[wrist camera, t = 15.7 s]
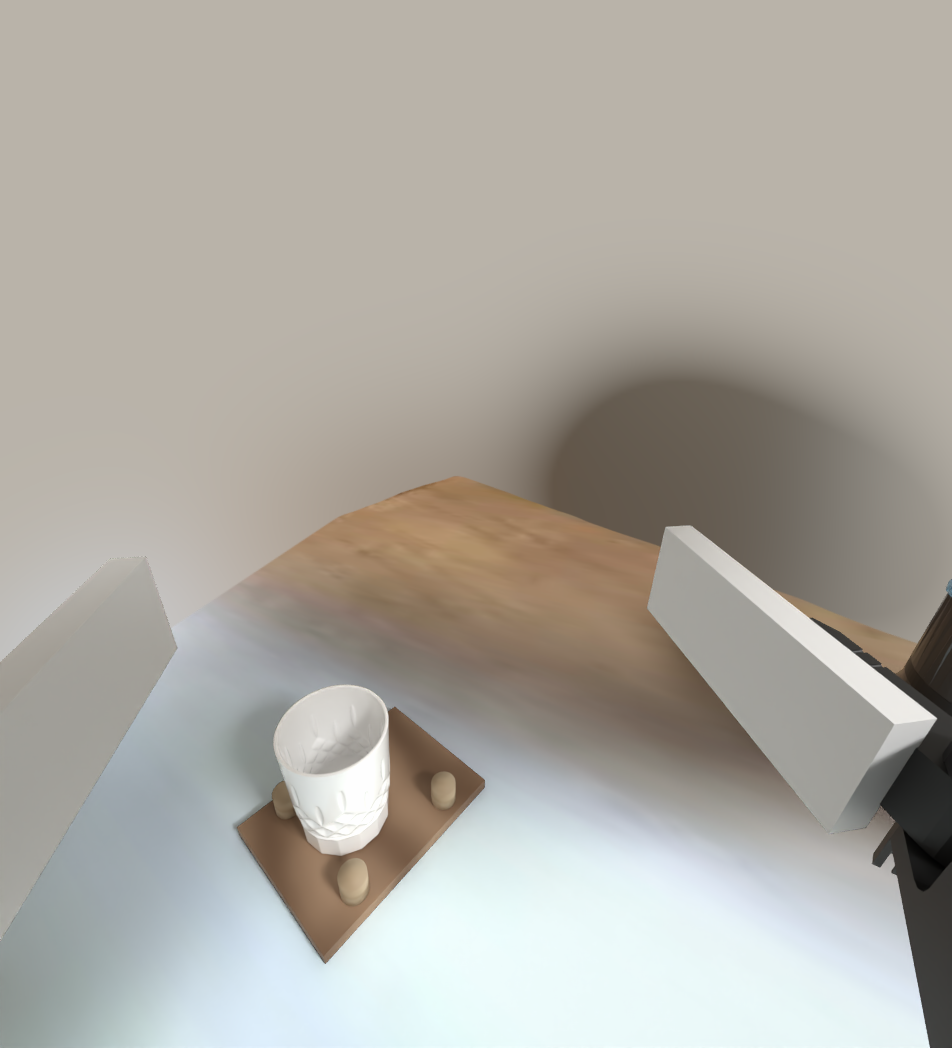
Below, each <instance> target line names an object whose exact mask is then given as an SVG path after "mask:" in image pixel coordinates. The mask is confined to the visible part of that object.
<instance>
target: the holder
mask: <svg viewBox="0 0 952 1048" xmlns="http://www.w3.org/2000/svg"><path fill="white" fill-rule="evenodd" d="M388 718H389V754H390V786H389V804H388V816H387V818H386V820H385V822H384V824H383V826H382V828H381V830H380V832H379V834H378V835H377V836H376V837H375V838H374V839H372V840H371V841H370V842H369V843H368V844H367V845H366V846H365V847H363V848H362V849H360V850H357V851H354V852H351V853H349V854H346V855H343V856H337V855H329V854H322V853H321V852H319V851H318V850H317V849H316V848H315V847H313V846H312V845H311V844H310V843H308V841H307V838H306V835H305V832H304V829H303V826H302V824H301V821H300V820H299V818H298V817H297V815H296V812H295V809H294V807H293V804H292V802H291V799H290V796H289V793H288V790H287V787H286V784H285V781H282V782H280V783H279V784H278V785H277V786H276V787H275V788H274V790H273V792H272V799H273V800H272V801H271V802H269V803H268V804H267V805H265V806H264V807H263V808H262V809H260V810H259V811H258V812H256V813H255V814H254V815H252V816H251V817H250V818H248V819H247V820H246V821H245V822H243V823H242V824H241V825H239V826H238V827H237V829H238V832H239V835H240V837H241V838H242V840H243V841H244V843H245V844H246V846H247V847H248V849H249V850H250V852H251V853H252V855H253V856H254V858H255V859H256V861H257V862H258V864H259V865H260V867H261V868H262V870H263V871H264V873H265V874H266V876H267V877H268V879H269V880H270V882H271V883H272V885H273V886H274V888H275V889H276V891H277V892H278V894H279V895H280V897H281V898H282V900H283V901H284V903H285V904H286V906H287V907H288V909H289V910H290V912H291V913H292V915H293V916H294V918H295V919H296V921H297V922H298V924H299V925H300V927H301V928H302V930H303V931H304V933H305V934H306V936H307V937H308V939H309V940H310V942H311V943H312V945H313V946H314V948H315V949H316V951H317V952H318V954H319V955H320V957H321V958H322V960H323V961H324V963H325V964H326V963H327V962H328V960H329V959H330V958H331V957H332V956H333V955H334V954H335V953H336V952H337V951H338V949H339V948H340V947H341V946H342V945H343V944H344V943H345V942H346V941H347V939H348V938H349V937H350V936H351V935H352V934H353V933H354V932H355V931H356V929H357V928H358V927H359V926H360V925H361V924H362V923H363V922H364V921H365V919H366V918H367V917H368V916H369V915H370V914H371V913H372V912H373V911H374V909H375V908H376V907H377V906H378V905H379V904H380V903H381V902H382V901H383V900H384V898H385V897H386V896H387V895H388V894H389V893H390V892H391V891H392V890H393V888H394V887H395V886H396V885H397V884H398V883H399V882H400V881H401V880H402V878H403V877H404V876H405V875H406V874H407V873H408V872H409V871H410V870H411V868H412V867H413V866H414V865H415V864H416V863H417V862H418V861H419V860H420V858H421V857H422V856H423V855H424V854H425V853H426V852H427V851H428V850H429V849H430V847H431V846H432V845H433V844H434V843H435V842H436V841H437V840H438V839H439V837H440V836H441V835H442V834H443V833H444V832H445V831H446V830H447V829H448V827H449V826H450V825H451V824H452V823H453V822H454V821H455V820H456V819H457V817H458V816H459V815H460V814H461V813H462V812H463V811H464V810H465V809H466V807H467V806H468V805H469V804H470V803H471V802H472V801H473V800H474V799H475V798H476V796H477V795H478V794H479V793H480V792H481V791H482V790H483V789H484V788H485V780H484V779H483V778H482V777H481V776H479V775H478V774H477V773H476V772H474V771H473V770H472V769H471V768H469V767H468V766H467V765H466V764H465V763H463V762H462V761H461V760H460V759H458V758H457V757H456V756H455V755H454V754H452V753H451V752H450V751H449V750H447V749H446V748H445V747H444V746H442V745H441V744H440V743H439V742H438V741H436V740H435V739H434V738H433V737H431V736H430V735H429V734H428V733H427V732H425V731H424V730H423V729H422V728H420V727H419V726H418V725H417V724H415V723H414V722H413V721H412V720H411V719H409V718H408V717H407V716H406V715H404V714H403V713H402V712H401V711H399V710H398V709H397V708H396V707H394V708H392V709H391V710H390V711H388Z"/></svg>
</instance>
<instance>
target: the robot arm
mask: <svg viewBox="0 0 952 1048" xmlns="http://www.w3.org/2000/svg"><path fill="white" fill-rule="evenodd" d="M946 591H947V592H948V594H947V595H946V596H945V598H944V600H943V602H942V603H941V605H940V607H939V608H938V610H937V612H936V613H935V615H934V617H933V618H932V620H931V622H930V624H929V625H928V627H927V629H926V630H925V632H924V634H923V635H922V637H921V639H920V640H919V642H918V644H917V645H916V647H915V649H914V651H913V652H912V655H911V656H910V658H909V660H908V661H907V663H906V665H905V666H904V668H903V669H902V670H901V671H899V672H898V673H896V674H895V673H893V672H892V671H891V670H889V669H888V668H887V667H884V668H883V667H882V666H881V663H880V662H879V661H877V660H876V659H875V658H873V657H872V656H871V655H870V654H868V653H863V651H862V648H860V647H859V646H858V645H856V644H855V643H854V642H852V641H851V640H850V639H848V638H847V637H846V636H845V635H843V634H842V633H841V632H839V631H837V630H835V629H833V628H831V627H829V626H827V625H825V624H823V623H821V622H820V621H818V620H816V619H814V618H808V617H807V616H806V615H804V614H803V613H802V612H801V611H799V610H798V609H797V608H795V607H794V606H793V605H792V604H790V603H789V602H788V601H787V600H785V599H784V598H783V597H781V596H780V595H779V594H778V593H776V592H775V591H774V590H773V589H771V588H770V587H769V586H767V585H766V584H765V583H764V582H762V581H761V580H760V579H758V578H757V577H756V576H755V575H753V574H752V573H751V572H749V571H748V570H747V569H746V568H744V567H743V566H742V565H741V564H739V563H738V562H737V561H735V560H734V559H733V558H732V557H730V556H729V555H728V554H727V553H725V552H724V551H723V550H721V549H720V548H719V547H717V546H716V545H715V544H714V543H713V542H711V541H710V540H709V539H707V538H706V537H705V536H704V535H702V534H701V533H699V532H698V531H697V530H696V529H695V528H693V527H692V526H675V527H665V532H664V536H663V541H662V545H661V549H660V554H659V558H658V562H657V567H656V571H655V576H654V580H653V584H652V589H651V593H650V598H649V602H648V606H647V609H648V610H649V611H650V612H651V614H652V615H653V616H654V617H655V619H656V620H657V621H658V622H659V624H660V625H661V626H662V627H663V629H664V630H665V631H666V632H667V634H668V635H669V636H670V637H671V639H672V640H673V641H674V642H675V644H676V645H677V646H678V647H679V649H680V650H681V651H682V652H683V654H684V655H685V656H686V657H687V658H688V660H689V661H690V662H691V663H692V665H693V666H694V667H695V668H696V670H697V671H698V672H699V673H700V675H701V676H702V677H703V678H704V680H705V681H706V682H707V683H708V685H709V686H710V687H711V688H712V690H713V691H714V692H715V693H716V695H717V696H718V697H719V698H720V700H721V701H722V702H723V703H724V704H725V706H726V707H727V708H728V709H729V711H730V712H731V713H732V714H733V716H734V717H735V718H736V719H737V721H738V722H739V723H740V724H741V726H742V727H743V728H744V729H745V731H746V732H747V733H748V734H749V736H750V737H751V738H752V739H753V741H754V742H755V743H756V744H757V746H758V747H759V748H760V749H761V751H762V752H763V753H764V754H765V755H766V757H767V758H768V759H769V760H770V762H771V763H772V764H773V765H774V767H775V768H776V769H777V770H778V772H779V773H780V774H781V775H782V777H783V778H784V779H785V780H786V782H787V783H788V784H789V785H790V787H791V788H792V789H793V790H794V792H795V793H796V794H797V795H798V797H799V798H800V799H801V800H802V801H803V803H804V804H805V805H806V806H807V808H808V809H809V810H810V811H811V813H812V814H813V815H814V816H815V818H816V819H817V820H818V821H819V823H820V824H821V825H822V826H823V828H824V829H825V830H826V831H827V833H828V834H833V833H839V832H845V831H850V830H856V829H862V828H866V827H867V826H868V824H869V823H870V821H871V819H872V818H873V816H874V815H875V813H876V812H877V810H878V809H879V807H880V806H882V807H883V808H884V809H885V810H886V811H887V812H888V814H889V815H890V816H891V817H892V818H893V819H894V820H895V821H896V822H895V823H894V825H893V826H892V828H891V829H890V830H889V832H888V833H887V835H886V836H885V838H884V839H883V841H882V842H881V843H880V845H879V846H878V848H877V849H876V851H875V852H874V854H873V862H872V864H874V865H876V866H878V867H881V866H882V864H883V863H884V861H885V860H886V859H887V857H888V856H889V854H890V853H892V854H893V857H894V862H895V867H894V868H893V869H892V872H891V873H893V874H895V875H897V878H898V883H899V888H900V893H901V898H902V904H903V909H904V914H905V919H906V925H907V930H908V935H909V940H910V945H911V951H912V956H913V961H914V966H915V972H916V977H917V982H918V987H919V992H920V998H921V1003H922V1008H923V1013H924V1019H925V1024H926V1029H927V1034H928V1039H929V1045H930V1048H952V579H951V580H950V581H949V582H948V584H947V587H946ZM176 650H177V646H176V643H175V640H174V637H173V634H172V631H171V628H170V625H169V622H168V619H167V616H166V614H165V611H164V607H163V604H162V602H161V599H160V596H159V593H158V590H157V587H156V584H155V581H154V578H153V575H152V572H151V569H150V566H149V563H148V560H147V557H132V558H131V557H130V558H115V559H114V558H113V559H109V560H108V561H107V562H106V563H105V564H104V565H103V566H102V567H101V568H100V569H99V570H97V571H96V572H95V573H94V574H93V575H92V576H91V577H90V578H89V579H88V580H87V581H86V582H85V583H84V584H83V585H82V586H81V587H79V588H78V589H77V590H76V591H75V592H74V593H73V594H72V595H71V596H70V597H69V598H68V599H67V600H66V601H65V602H64V603H63V604H61V605H60V606H59V607H58V608H57V609H56V610H55V611H54V612H53V613H52V614H51V615H50V616H49V617H48V618H47V619H46V620H44V622H42V623H41V624H40V625H39V626H38V627H37V628H36V629H35V630H34V631H33V632H32V633H31V634H30V635H29V636H28V637H27V638H25V639H24V640H23V641H22V642H21V643H20V644H19V645H18V646H17V647H16V648H15V649H14V650H13V651H12V652H11V653H10V654H8V656H6V658H4V659H3V660H2V661H1V662H0V941H1V939H2V938H3V936H4V934H5V933H6V931H7V929H8V928H9V926H10V924H11V923H12V921H13V919H14V918H15V916H16V914H17V913H18V911H19V909H20V908H21V906H22V905H23V903H24V901H25V900H26V898H27V896H28V895H29V893H30V891H31V890H32V888H33V886H34V885H35V883H36V881H37V880H38V878H39V876H40V875H41V873H42V871H43V870H44V868H45V866H46V865H47V863H48V862H49V860H50V858H51V857H52V855H53V853H54V852H55V850H56V848H57V847H58V845H59V843H60V842H61V840H62V838H63V837H64V835H65V833H66V832H67V830H68V828H69V827H70V825H71V823H72V822H73V820H74V818H75V817H76V815H77V814H78V812H79V810H80V809H81V807H82V805H83V804H84V802H85V800H86V799H87V797H88V795H89V794H90V792H91V790H92V789H93V787H94V785H95V784H96V782H97V780H98V779H99V777H100V775H101V774H102V772H103V770H104V769H105V767H106V766H107V764H108V762H109V761H110V759H111V757H112V756H113V754H114V752H115V751H116V749H117V747H118V746H119V744H120V742H121V741H122V739H123V737H124V736H125V734H126V732H127V731H128V729H129V727H130V726H131V724H132V722H133V721H134V719H135V718H136V716H137V714H138V713H139V711H140V709H141V708H142V706H143V704H144V703H145V701H146V699H147V698H148V696H149V694H150V693H151V691H152V689H153V688H154V686H155V684H156V683H157V681H158V679H159V678H160V676H161V675H162V673H163V671H164V670H165V668H166V666H167V665H168V663H169V661H170V660H171V658H172V656H173V655H174V653H175V651H176Z"/></svg>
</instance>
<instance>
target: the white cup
mask: <svg viewBox="0 0 952 1048" xmlns="http://www.w3.org/2000/svg"><path fill="white" fill-rule="evenodd" d="M273 746H274V752H275V755H276V758H277V761H278V763H279V766H280V769H281V772H282V775H283V778H284V781H285V784H286V787H287V790H288V793H289V796H290V799H291V802H292V804H293V807H294V809H295V812H296V815H297V817H298V818H299V820H300V821H301V824H302V826H303V829H304V832H305V835H306V838H307V841H308V843H310V844H311V845H312V846H313V847H315V848H316V849H317V850H318V851H319V852H321V853H322V854H329V855H337V856H343V855H346V854H349V853H351V852H354V851H357V850H360V849H362V848H363V847H365V846H366V845H367V844H368V843H369V842H370V841H371V840H372V839H374V838H375V837H376V836H377V835H378V834H379V832H380V830H381V828H382V826H383V824H384V822H385V820H386V818H387V816H388V804H389V786H390V754H389V718H388V711H387V708H386V706H385V704H384V702H383V701H382V699H381V698H380V697H379V696H378V695H377V694H375V693H374V692H372V691H371V690H369V689H366V688H364V687H360V686H356V685H334V686H329V687H325V688H322V689H319V690H317V691H314V692H312V693H310V694H308V695H306V696H305V697H303V698H301V699H300V700H299V701H297V702H296V703H295V704H294V705H292V706H291V707H290V708H289V709H288V711H287V712H286V713H285V714H284V715H283V717H282V718H281V720H280V722H279V723H278V725H277V728H276V730H275V734H274V740H273Z"/></svg>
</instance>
